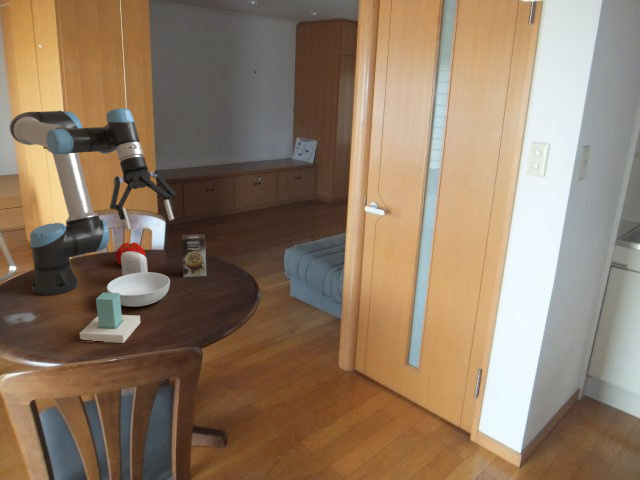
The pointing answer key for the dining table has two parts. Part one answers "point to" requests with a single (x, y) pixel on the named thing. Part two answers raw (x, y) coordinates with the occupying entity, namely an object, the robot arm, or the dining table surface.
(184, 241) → the coffee box
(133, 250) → the tomato
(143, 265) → the photo printer
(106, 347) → the dining table surface
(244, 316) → the dining table surface
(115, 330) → the white square frame
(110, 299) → the teal square peg
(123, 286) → the serving bowl
